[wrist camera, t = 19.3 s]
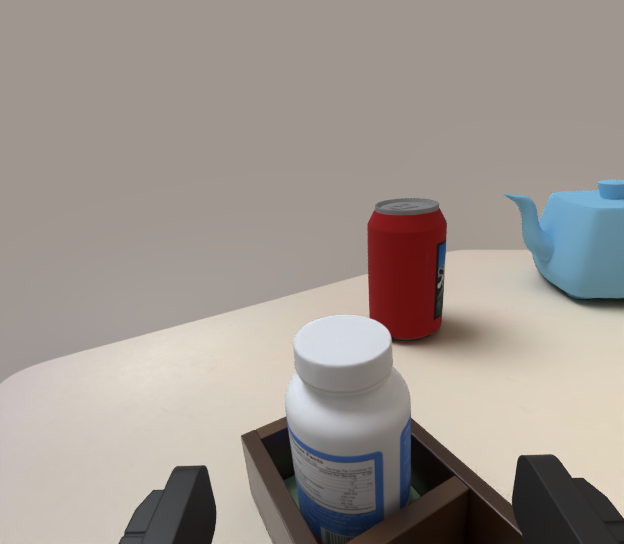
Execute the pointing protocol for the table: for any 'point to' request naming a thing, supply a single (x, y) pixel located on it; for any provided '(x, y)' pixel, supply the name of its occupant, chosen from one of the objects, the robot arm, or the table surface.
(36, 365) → the table surface
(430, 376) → the table surface
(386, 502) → the pill bottle
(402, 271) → the beverage can
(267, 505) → the wooden compartment box
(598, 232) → the teapot
